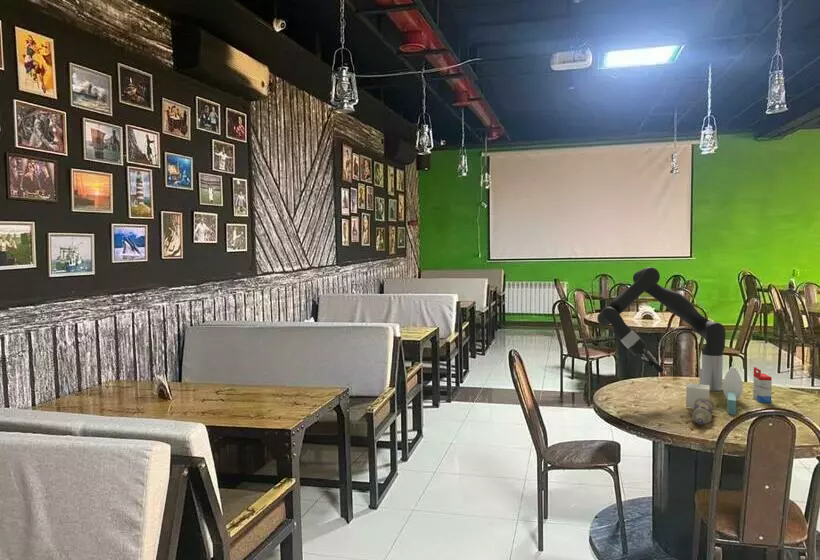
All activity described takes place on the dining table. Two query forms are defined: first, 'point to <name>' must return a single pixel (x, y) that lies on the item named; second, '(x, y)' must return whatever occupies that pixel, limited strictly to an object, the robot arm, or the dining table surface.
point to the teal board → (731, 402)
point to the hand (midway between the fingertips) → (662, 371)
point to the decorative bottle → (702, 411)
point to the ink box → (762, 386)
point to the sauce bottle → (733, 382)
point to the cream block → (696, 393)
